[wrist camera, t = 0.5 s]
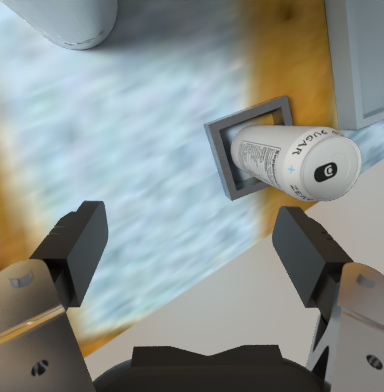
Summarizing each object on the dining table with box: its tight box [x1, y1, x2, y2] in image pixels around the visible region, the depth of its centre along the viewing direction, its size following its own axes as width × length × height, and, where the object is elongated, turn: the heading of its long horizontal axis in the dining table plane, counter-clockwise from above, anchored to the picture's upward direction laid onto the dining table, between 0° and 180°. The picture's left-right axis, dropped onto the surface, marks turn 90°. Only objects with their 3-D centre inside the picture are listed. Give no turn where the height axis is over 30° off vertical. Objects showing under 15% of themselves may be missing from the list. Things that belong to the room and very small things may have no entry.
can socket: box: [204, 95, 293, 201], centre depth 30 cm, size 10×10×2 cm
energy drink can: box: [231, 125, 362, 202], centre depth 24 cm, size 6×6×15 cm
